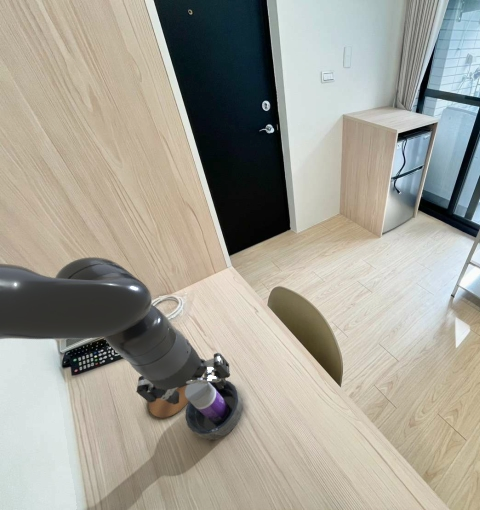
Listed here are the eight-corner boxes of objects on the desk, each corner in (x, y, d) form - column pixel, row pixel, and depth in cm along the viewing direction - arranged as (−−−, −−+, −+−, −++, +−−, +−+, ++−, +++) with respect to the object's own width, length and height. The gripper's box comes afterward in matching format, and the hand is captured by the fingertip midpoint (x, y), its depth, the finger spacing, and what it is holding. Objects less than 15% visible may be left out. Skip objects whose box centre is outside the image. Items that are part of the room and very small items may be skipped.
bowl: (193, 448, 59) (184, 442, 56) (194, 397, 67) (186, 388, 63) (245, 428, 62) (240, 421, 58) (241, 381, 70) (235, 372, 66)
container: (233, 408, 65) (214, 384, 55) (218, 427, 62) (194, 406, 52) (219, 397, 67) (198, 372, 56) (204, 415, 64) (178, 392, 53)
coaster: (146, 424, 63) (145, 424, 62) (152, 382, 69) (151, 382, 69) (192, 408, 65) (192, 408, 65) (193, 369, 72) (193, 368, 72)
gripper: (109, 395, 40) (159, 424, 51) (211, 362, 43) (237, 397, 54) (119, 349, 45) (163, 385, 56) (210, 323, 48) (234, 363, 59)
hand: (200, 391), depth 55 cm, fingers open, 8 cm apart
